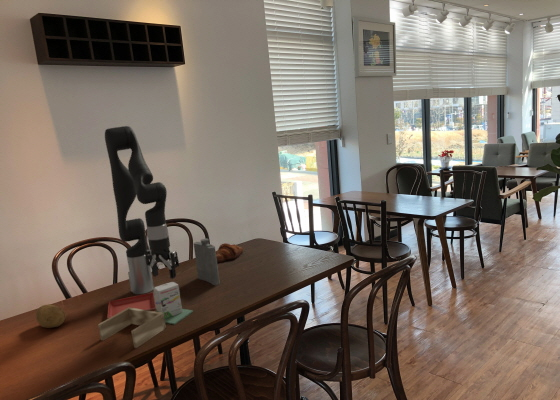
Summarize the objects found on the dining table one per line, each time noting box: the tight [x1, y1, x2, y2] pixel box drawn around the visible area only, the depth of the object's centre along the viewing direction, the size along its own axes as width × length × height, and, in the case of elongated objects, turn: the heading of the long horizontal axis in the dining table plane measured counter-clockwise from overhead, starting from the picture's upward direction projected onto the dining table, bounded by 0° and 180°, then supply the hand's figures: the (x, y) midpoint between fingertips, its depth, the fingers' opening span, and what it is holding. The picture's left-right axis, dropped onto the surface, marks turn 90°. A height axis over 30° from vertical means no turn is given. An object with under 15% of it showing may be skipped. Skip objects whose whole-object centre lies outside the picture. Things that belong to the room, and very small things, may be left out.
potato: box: [35, 303, 67, 329], centre depth 167 cm, size 10×14×8 cm
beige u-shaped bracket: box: [97, 307, 167, 349], centre depth 154 cm, size 17×14×6 cm
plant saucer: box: [107, 292, 157, 319], centre depth 175 cm, size 18×18×3 cm
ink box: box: [152, 281, 183, 319], centre depth 166 cm, size 8×5×12 cm, turn 129°
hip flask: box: [193, 238, 221, 286], centre depth 198 cm, size 16×4×20 cm, turn 41°
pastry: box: [216, 242, 244, 264], centre depth 232 cm, size 17×15×8 cm
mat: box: [164, 308, 194, 326], centre depth 167 cm, size 14×11×1 cm
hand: (164, 276), depth 164 cm, fingers open, 8 cm apart
